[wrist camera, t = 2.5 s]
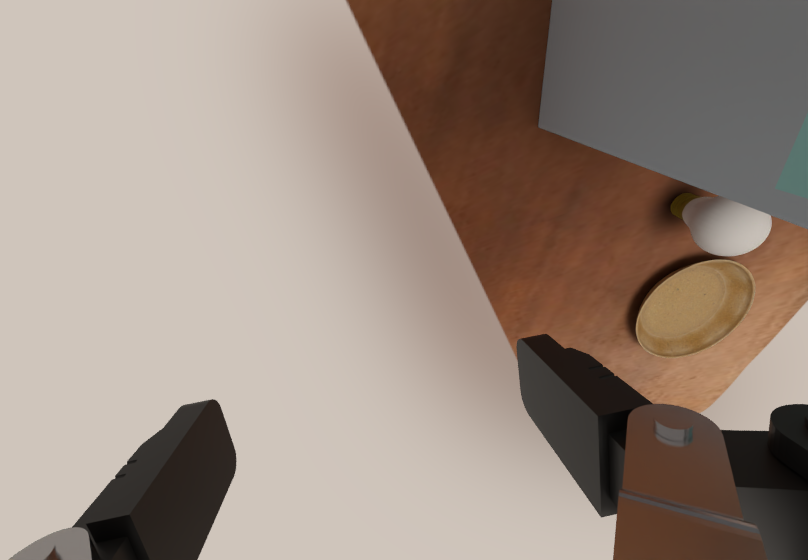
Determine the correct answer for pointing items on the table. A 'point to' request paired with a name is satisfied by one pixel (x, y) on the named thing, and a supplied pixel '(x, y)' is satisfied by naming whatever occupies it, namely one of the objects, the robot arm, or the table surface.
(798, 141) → the block
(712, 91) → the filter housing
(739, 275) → the plant saucer
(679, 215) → the light bulb
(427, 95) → the table surface
